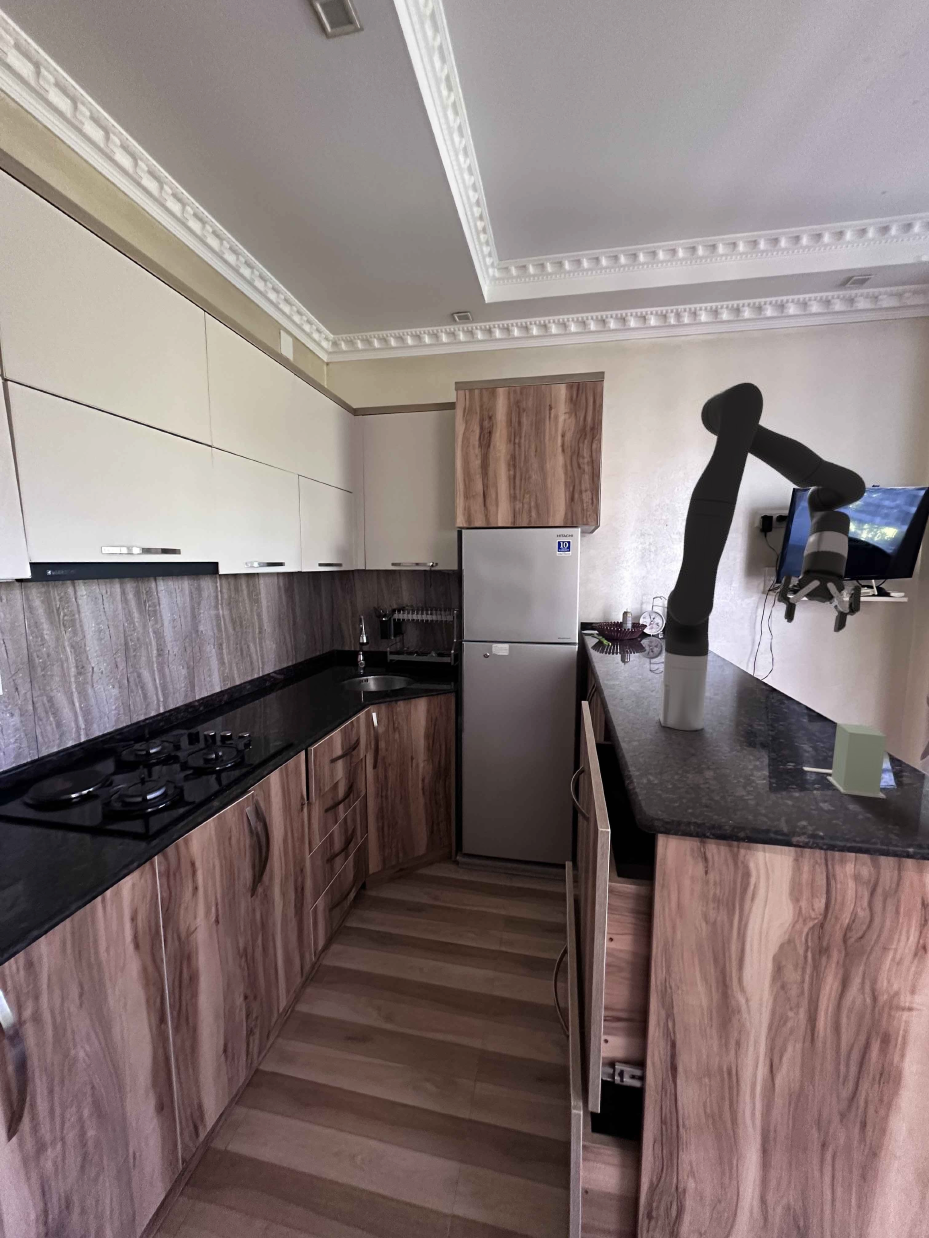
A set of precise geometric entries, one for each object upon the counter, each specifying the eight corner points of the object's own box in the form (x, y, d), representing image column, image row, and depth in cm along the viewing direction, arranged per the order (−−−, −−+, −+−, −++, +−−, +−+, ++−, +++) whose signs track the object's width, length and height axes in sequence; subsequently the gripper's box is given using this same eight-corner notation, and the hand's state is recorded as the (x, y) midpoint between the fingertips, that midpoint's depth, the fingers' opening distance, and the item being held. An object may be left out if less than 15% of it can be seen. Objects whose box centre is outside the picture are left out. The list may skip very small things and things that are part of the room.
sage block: (843, 789, 82) (849, 732, 81) (831, 777, 87) (837, 722, 85) (879, 794, 80) (886, 736, 79) (865, 781, 85) (871, 726, 84)
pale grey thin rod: (805, 770, 90) (805, 769, 90) (802, 768, 91) (802, 767, 91) (882, 779, 87) (882, 778, 87) (879, 776, 88) (879, 775, 88)
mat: (842, 793, 81) (842, 791, 81) (826, 777, 87) (826, 776, 87) (885, 798, 80) (885, 796, 80) (866, 782, 85) (866, 780, 85)
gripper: (792, 544, 105) (780, 612, 101) (872, 555, 100) (862, 628, 96) (782, 559, 112) (769, 624, 108) (856, 571, 107) (846, 639, 103)
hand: (813, 626), depth 102 cm, fingers open, 8 cm apart
